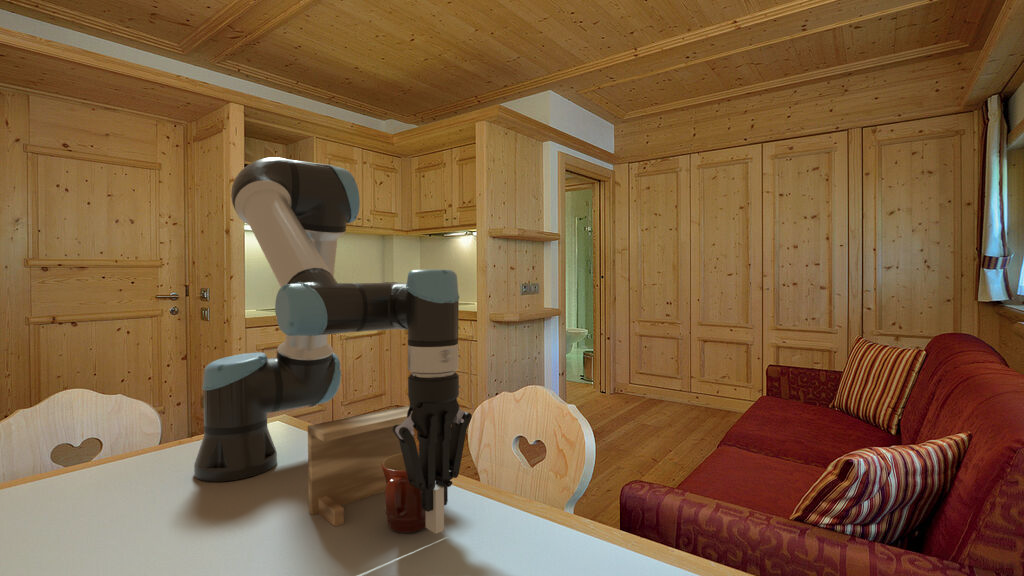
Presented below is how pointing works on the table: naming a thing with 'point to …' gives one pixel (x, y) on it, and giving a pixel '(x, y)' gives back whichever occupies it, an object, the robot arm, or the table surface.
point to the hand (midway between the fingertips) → (434, 528)
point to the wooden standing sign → (350, 460)
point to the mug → (402, 498)
